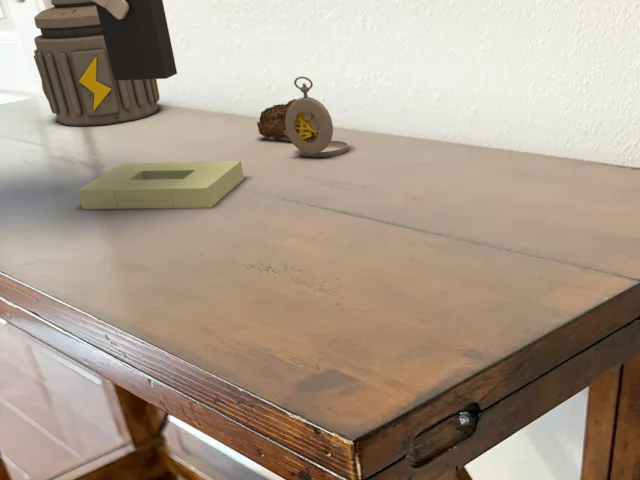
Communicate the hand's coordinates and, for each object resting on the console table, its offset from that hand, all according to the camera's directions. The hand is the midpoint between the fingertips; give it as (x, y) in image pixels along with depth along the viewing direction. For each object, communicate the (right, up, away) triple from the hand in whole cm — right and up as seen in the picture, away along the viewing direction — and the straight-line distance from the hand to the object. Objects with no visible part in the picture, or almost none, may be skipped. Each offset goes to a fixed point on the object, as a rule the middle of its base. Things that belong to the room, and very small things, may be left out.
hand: (136, 10), depth 84 cm
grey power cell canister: (-25, +21, +60) cm, 68 cm away
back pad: (0, -5, +4) cm, 6 cm away
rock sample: (+11, +4, +36) cm, 38 cm away
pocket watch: (+16, -2, +27) cm, 32 cm away
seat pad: (-1, -13, +16) cm, 20 cm away
